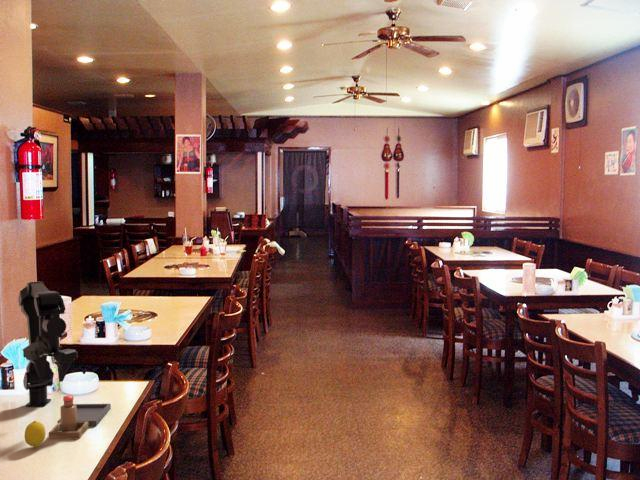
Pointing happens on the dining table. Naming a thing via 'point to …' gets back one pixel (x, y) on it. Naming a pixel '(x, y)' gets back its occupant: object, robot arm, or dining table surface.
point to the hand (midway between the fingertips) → (51, 380)
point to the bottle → (68, 415)
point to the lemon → (35, 434)
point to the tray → (91, 413)
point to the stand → (69, 435)
